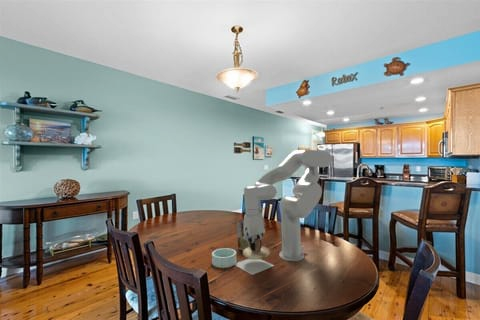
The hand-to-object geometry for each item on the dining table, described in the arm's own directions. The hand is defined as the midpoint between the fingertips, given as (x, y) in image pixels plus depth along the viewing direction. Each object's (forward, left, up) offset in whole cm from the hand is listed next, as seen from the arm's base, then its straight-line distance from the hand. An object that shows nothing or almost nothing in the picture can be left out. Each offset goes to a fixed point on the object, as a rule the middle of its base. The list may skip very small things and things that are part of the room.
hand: (255, 248), depth 116 cm
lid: (0, 0, -2) cm, 2 cm away
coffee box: (-10, -18, -8) cm, 22 cm away
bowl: (+10, -12, -8) cm, 18 cm away
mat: (+1, 0, -8) cm, 8 cm away
